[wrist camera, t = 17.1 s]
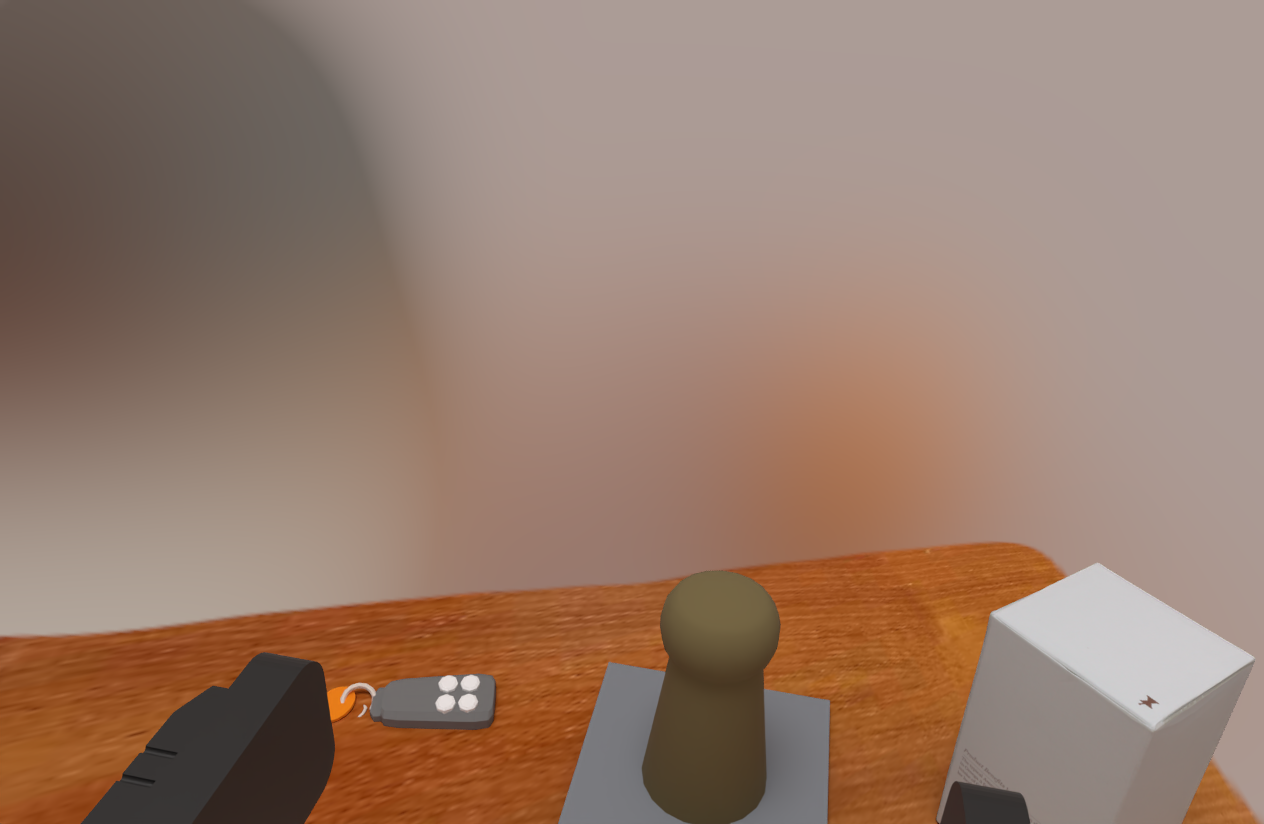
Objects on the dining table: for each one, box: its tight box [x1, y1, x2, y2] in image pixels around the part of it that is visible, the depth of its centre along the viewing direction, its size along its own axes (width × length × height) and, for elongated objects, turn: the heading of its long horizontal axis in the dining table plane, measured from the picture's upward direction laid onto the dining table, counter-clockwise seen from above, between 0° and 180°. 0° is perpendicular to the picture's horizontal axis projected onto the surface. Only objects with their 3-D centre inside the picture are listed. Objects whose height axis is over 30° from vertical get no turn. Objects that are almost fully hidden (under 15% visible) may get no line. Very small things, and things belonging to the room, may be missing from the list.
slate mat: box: [558, 662, 830, 824], centre depth 46 cm, size 12×12×1 cm
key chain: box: [327, 674, 496, 730], centre depth 49 cm, size 13×4×2 cm, turn 94°
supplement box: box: [936, 563, 1255, 824], centre depth 41 cm, size 7×7×13 cm
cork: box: [642, 571, 780, 824], centre depth 43 cm, size 6×6×11 cm
